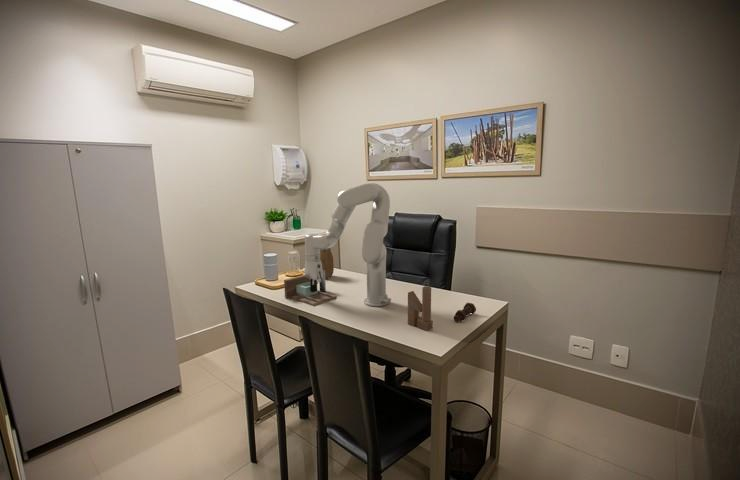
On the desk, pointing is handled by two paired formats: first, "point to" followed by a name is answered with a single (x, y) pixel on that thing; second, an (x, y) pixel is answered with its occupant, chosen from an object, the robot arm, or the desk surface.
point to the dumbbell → (464, 312)
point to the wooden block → (420, 309)
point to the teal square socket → (305, 289)
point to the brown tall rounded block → (327, 262)
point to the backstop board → (311, 300)
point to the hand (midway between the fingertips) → (313, 291)
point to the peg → (323, 283)
